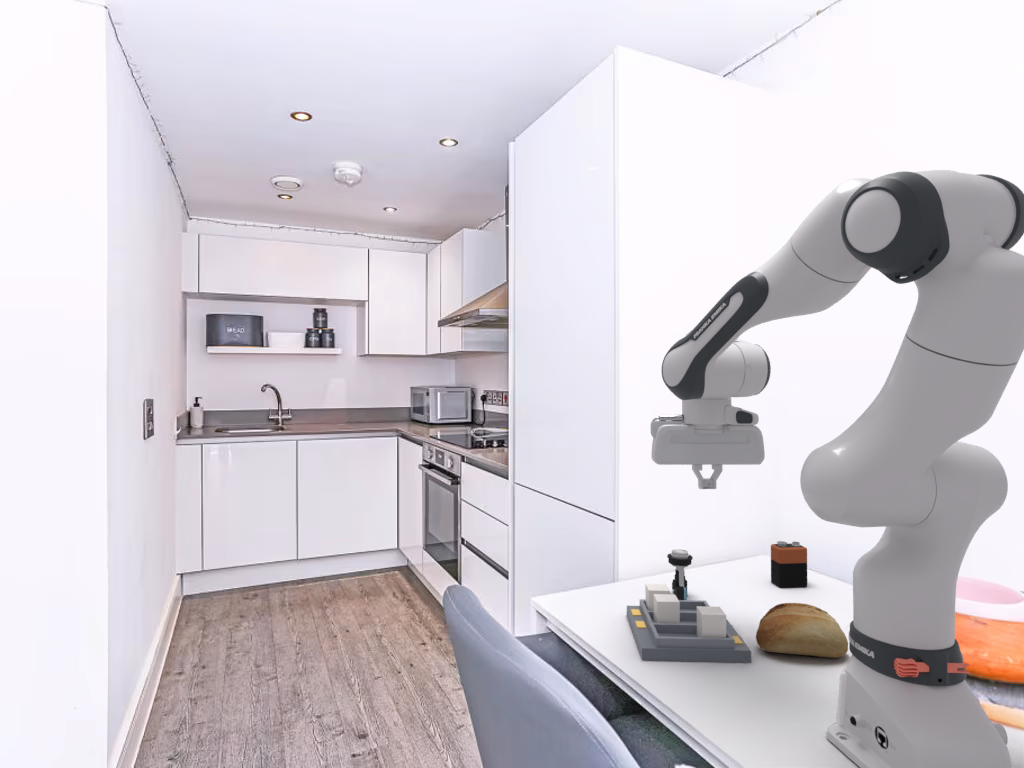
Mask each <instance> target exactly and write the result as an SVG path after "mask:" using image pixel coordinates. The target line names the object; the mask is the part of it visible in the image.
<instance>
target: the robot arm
mask: <svg viewBox="0 0 1024 768" xmlns="http://www.w3.org/2000/svg"><path fill="white" fill-rule="evenodd" d="M1023 235H1024V192H1023V191H1022V190H1021V189H1020V188H1019V187H1018V185H1015V183H1012V182H1011V181H1008V180H1007V179H1005V178H1002V177H999V176H995V175H992V174H985V173H982V174H981V173H980V174H973V173H965V172H959V171H955V170H951V169H950V170H948V169H947V170H946V169H945V170H944V169H943V170H942V169H941V170H940V169H939V170H938V169H936V170H934V169H933V170H923V171H922V170H921V171H916V172H914V171H897V172H893V173H892V172H891V173H888V174H885V175H881V176H877V178H876V177H875V178H874V179H869V178H865V177H863V178H860V177H859V178H858V177H857V178H853V179H848V180H846V181H844V182H842V183H840V184H839V185H837V186H836V187H835V188H833V190H832V191H830V193H828V195H826V196H825V197H824V198H823V199H822V200H821V201H820V202H819V203H818V204H817V205H816V206H815V207H814V208H813V209H812V210H811V211H810V213H809V214H808V215H807V216H806V217H805V219H804V220H803V221H802V222H801V223H800V224H799V226H798V227H797V229H796V230H795V231H794V232H793V233H792V235H791V237H790V238H789V239H788V240H787V241H786V243H785V244H784V245H783V246H782V247H781V248H780V249H779V250H778V251H777V252H776V253H775V254H774V255H772V257H770V258H769V259H768V260H767V261H766V262H765V263H763V264H762V265H761V266H759V267H758V268H756V269H755V270H754V271H752V272H750V273H748V274H747V275H745V276H743V277H742V278H741V279H739V280H738V281H737V282H736V283H734V284H733V285H732V286H731V287H730V289H728V290H727V292H725V293H724V295H722V297H720V299H719V300H718V301H717V302H716V304H714V306H712V308H711V309H710V310H709V311H708V312H707V313H706V315H704V316H703V318H702V319H701V320H700V322H698V323H697V325H695V326H694V328H693V329H692V330H690V331H689V332H688V333H686V334H685V336H684V337H682V338H681V339H679V340H677V341H676V342H675V343H674V344H673V345H671V347H670V348H669V349H668V351H667V352H666V354H665V356H664V357H663V360H662V364H661V378H662V380H663V383H664V385H665V386H666V387H667V389H668V390H669V391H670V392H671V393H672V394H673V395H674V396H675V397H677V398H678V399H680V400H681V414H669V415H667V414H659V415H658V416H657V417H654V418H653V419H652V420H651V423H650V434H651V437H652V442H651V454H650V455H651V460H652V461H653V462H654V463H655V464H656V465H659V466H660V465H661V466H662V465H663V466H664V465H667V466H668V465H671V466H672V465H681V466H682V465H686V466H687V465H690V466H691V470H692V472H693V473H694V476H695V477H696V479H697V487H698V489H700V490H716V489H717V481H718V480H719V477H720V476H721V474H722V472H723V465H724V466H726V465H732V466H734V465H735V466H737V465H738V466H740V465H741V466H742V465H746V466H747V465H752V466H753V465H761V464H763V461H764V460H765V453H766V452H765V444H764V443H765V442H764V438H763V436H764V435H763V432H762V430H761V429H760V428H759V427H758V426H757V425H758V424H759V421H760V419H759V418H760V417H759V414H758V413H756V412H753V411H750V410H746V409H743V408H741V407H737V406H733V405H732V398H746V397H748V398H749V397H753V396H757V395H759V394H761V392H763V390H765V388H766V387H767V386H768V383H769V380H770V377H771V373H772V372H771V369H772V368H771V367H772V366H771V361H770V358H769V356H768V354H767V352H766V351H765V349H764V348H763V347H762V346H760V345H759V344H756V343H752V342H748V341H745V340H741V339H739V337H741V335H742V334H744V333H745V332H747V331H748V330H750V329H751V328H754V327H756V326H759V325H761V324H765V323H768V322H771V321H777V320H781V319H785V318H794V317H799V316H800V317H801V316H807V315H812V314H816V313H820V312H824V311H825V310H827V309H830V308H831V307H832V306H834V305H836V304H837V303H838V302H839V301H841V300H842V299H844V298H845V297H847V295H849V294H850V292H851V291H852V290H853V289H854V288H856V286H857V285H858V283H860V281H861V280H862V279H863V278H864V277H865V276H866V275H867V273H868V272H869V271H870V270H871V269H874V270H877V271H878V272H880V273H881V274H882V275H884V276H885V277H886V278H888V280H890V281H891V282H893V283H895V284H898V285H899V284H900V285H902V284H904V285H905V284H908V283H912V282H914V284H915V286H916V289H917V294H918V295H917V296H918V297H917V302H916V305H915V308H914V312H913V314H912V317H911V320H910V322H909V324H908V326H907V328H906V332H905V334H904V337H903V339H902V342H901V345H900V347H899V349H898V352H897V354H896V357H895V359H894V362H893V363H892V367H891V368H890V371H889V373H888V375H887V377H886V379H885V382H884V383H883V385H882V388H881V389H880V391H879V393H878V394H877V396H876V397H875V398H874V399H873V400H872V402H871V403H870V404H869V405H868V407H867V408H866V409H865V410H864V411H863V413H862V414H861V415H860V416H859V417H858V418H856V420H855V421H854V422H853V423H852V424H851V425H850V426H849V427H848V428H847V429H845V430H844V431H843V432H841V433H840V434H839V435H838V436H837V437H835V438H833V439H832V440H830V441H828V442H827V443H825V444H823V445H821V446H819V447H816V448H815V449H813V450H812V451H811V452H810V453H809V454H808V456H807V457H806V459H804V462H803V465H802V466H801V467H802V468H801V470H800V481H799V482H800V488H801V494H802V496H803V499H804V501H805V503H806V504H807V506H808V508H809V509H810V510H811V511H812V513H814V515H816V516H817V517H818V518H820V519H821V520H823V521H826V522H828V523H835V524H839V525H845V526H850V527H856V528H857V527H858V528H878V527H879V528H880V527H881V528H882V527H883V528H884V527H885V529H884V531H883V533H882V535H881V537H880V539H879V540H878V542H877V543H876V544H875V545H874V546H873V547H872V548H871V549H870V550H869V551H867V552H866V553H864V554H862V556H860V557H859V558H858V559H857V561H856V563H855V565H854V567H853V571H852V604H853V605H852V609H853V610H852V611H853V612H852V615H853V617H852V618H853V620H852V621H850V623H849V630H848V650H849V652H850V653H851V656H850V659H849V661H848V663H847V665H846V666H845V667H844V668H843V670H842V671H841V673H840V675H839V683H838V684H839V685H838V696H837V707H836V708H837V709H836V720H835V721H836V723H833V724H832V725H830V726H828V728H827V729H826V738H827V739H828V741H829V742H830V743H832V745H834V746H835V747H836V748H838V750H840V751H841V752H842V753H843V754H844V755H845V756H846V757H847V758H849V759H850V760H851V761H852V762H854V764H856V765H857V766H858V767H859V768H1012V761H1011V755H1010V751H1009V748H1008V746H1007V745H1008V742H1009V738H1008V734H1007V731H1006V729H1005V726H1004V725H1002V724H1001V723H999V722H998V723H997V722H992V721H991V719H990V717H989V716H988V715H987V714H988V713H987V712H986V711H985V710H984V708H983V705H981V702H980V700H979V699H978V697H976V695H975V694H974V693H973V691H972V689H971V688H970V686H969V684H968V682H967V681H966V679H967V674H970V673H971V672H970V671H969V670H966V668H967V667H970V663H965V662H964V656H963V653H962V651H961V648H960V646H959V645H960V644H959V642H958V640H957V639H956V633H955V632H956V598H957V597H956V595H957V582H958V579H959V573H960V571H961V566H962V564H963V560H964V558H965V556H966V553H967V550H968V549H969V546H970V544H971V542H972V540H973V538H974V537H975V535H976V534H977V532H978V531H979V529H980V528H981V526H982V525H983V524H984V523H985V521H987V520H988V519H989V518H990V517H992V516H993V515H994V514H995V513H997V512H998V511H999V510H1000V509H1001V507H1002V506H1003V505H1004V503H1005V501H1006V499H1007V496H1008V489H1009V488H1008V487H1009V484H1008V483H1009V482H1008V478H1007V472H1006V470H1005V468H1004V466H1003V464H1002V463H1001V461H1000V460H999V459H998V458H997V456H996V455H994V454H993V452H991V451H989V450H988V449H986V448H984V447H982V446H979V445H974V444H971V443H967V442H962V441H959V440H962V438H965V437H967V436H969V435H971V434H973V433H975V432H976V431H978V430H980V429H981V428H982V427H984V426H985V425H986V424H987V423H988V422H989V420H990V419H991V418H992V416H993V415H994V412H995V410H996V408H997V406H998V404H999V403H1000V400H1001V398H1002V396H1003V394H1004V392H1005V390H1006V387H1007V386H1008V384H1009V382H1010V380H1011V377H1012V375H1013V373H1014V371H1015V370H1016V368H1017V366H1018V363H1019V361H1020V359H1021V357H1022V355H1023V352H1024V255H1023V254H1021V253H1019V252H1016V251H1013V250H1012V248H1013V247H1014V246H1016V244H1017V243H1018V242H1019V241H1020V240H1021V238H1022V237H1023ZM705 465H710V466H711V469H712V470H713V472H712V474H711V475H710V478H709V477H708V478H704V477H703V475H702V473H701V471H703V466H705Z"/></svg>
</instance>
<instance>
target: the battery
mask: <svg viewBox="0 0 1024 768" xmlns="http://www.w3.org/2000/svg"><path fill="white" fill-rule="evenodd" d="M770 582H771V584H774V585H776V586H777V587H778V588H781V589H786V588H787V589H793V588H807V587H808V548H807V547H805V546H803V545H801V544H800V542H799V541H792V543H788V542H787V541H781V540H778V541H776V543H772V544H770Z"/></svg>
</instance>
